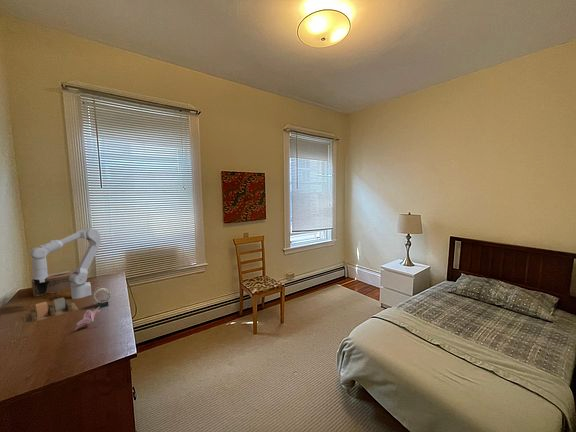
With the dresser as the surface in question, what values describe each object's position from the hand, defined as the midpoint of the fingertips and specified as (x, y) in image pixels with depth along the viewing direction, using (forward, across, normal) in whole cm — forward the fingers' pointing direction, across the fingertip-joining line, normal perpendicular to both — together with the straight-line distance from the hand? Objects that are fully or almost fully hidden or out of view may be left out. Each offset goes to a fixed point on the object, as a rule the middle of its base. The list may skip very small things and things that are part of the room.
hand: (42, 292), depth 135 cm
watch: (+10, +26, +22) cm, 35 cm away
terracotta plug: (+8, +14, -2) cm, 16 cm away
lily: (+10, +47, +12) cm, 49 cm away
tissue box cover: (+10, -34, +11) cm, 37 cm away
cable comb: (+9, +14, +2) cm, 17 cm away
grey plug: (+8, +14, +5) cm, 17 cm away
